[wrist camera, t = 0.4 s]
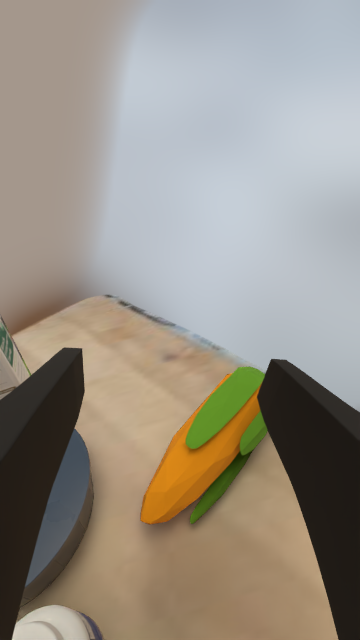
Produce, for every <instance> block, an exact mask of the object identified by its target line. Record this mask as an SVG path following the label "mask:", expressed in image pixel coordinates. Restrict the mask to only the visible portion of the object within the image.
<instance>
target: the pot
mask: <svg viewBox="0 0 360 640" xmlns="http://www.w3.org/2000/svg"><path fill="white" fill-rule="evenodd" d="M93 497H94V496H93V484H92V479H91V474H90V486H89V491H88V496H87V499H86V503H85V506H84V509H83V512H82V514H81V516H80V519H79V521H78V524H77V526H76V527H75V529H74V531H73V533H72V535H71V537H70V539H69V540H68V542H67V543H66V545H65V546H64V548H63V549H62V551H61V552H60V554H59V555H58V556H57V557H56V559H55V560H54V561H53V562H52V564H51V565H50V566H49V568H48V569H47V570H46V571H45V572H44V573H43V574H42V575H41V576H40V577H39V578H38V579H37V580H36V581H35V582H34V583H33V584H32V585H31V586H30V587H29V588H27V589H26V590H25V591H24V592H23V596H22V600H21V604H20V607H21V606H23V605H25V604H26V603H28V602H29V601H31V600H32V599H33V598H35V597H36V596H37V595H39V594H40V593H41V592H42V591H43V590H44V589H45V588H47V587H48V586H49V585H50V584H51V583H52V582H53V581H54V579H55V578H56V577H57V576H58V575H59V574H60V573H61V572H62V570H63V569H64V568H65V566H66V565H67V564H68V562H69V561H70V559H71V558H72V556H73V555H74V553H75V551H76V550H77V548H78V546H79V544H80V542H81V540H82V538H83V536H84V533H85V531H86V528H87V525H88V522H89V518H90V515H91V509H92V504H93Z"/></svg>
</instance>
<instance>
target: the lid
mask: <svg viewBox="0 0 360 640" xmlns="http://www.w3.org/2000/svg"><path fill="white" fill-rule="evenodd" d="M90 474H91V471H90V459H89V454H88V451H87V448H86V445H85V443H84V441H83V439H82V437H81V436H80V434H79V433H78V432H77V431H76V429H75V428H74V430H73V433H72V436H71V438H70V441H69V444H68V446H67V449H66V452H65V454H64V457H63V460H62V463H61V465H60V468H59V471H58V473H57V476H56V479H55V481H54V484H53V487H52V490H51V493H50V496H49V499H48V503H47V506H46V510H45V513H44V517H43V521H42V524H41V528H40V531H39V535H38V539H37V542H36V546H35V550H34V554H33V558H32V561H31V565H30V569H29V573H28V576H27V580H26V584H25V588H24V591H25V590H26V589H27V588H29V587H30V586H31V585H32V584H33V583H34V582H35V581H36V580H37V579H38V578H39V577H40V576H41V575H42V574H43V573H44V572H45V571H46V570H47V569H48V568H49V566H50V565H51V564H52V562H53V561H54V560H55V559H56V557H57V556H58V555H59V554H60V552H61V551H62V549H63V548H64V546H65V545H66V543H67V542H68V540H69V539H70V537H71V535H72V533H73V531H74V529H75V527H76V526H77V524H78V521H79V519H80V516H81V514H82V512H83V509H84V506H85V503H86V499H87V496H88V491H89V486H90Z"/></svg>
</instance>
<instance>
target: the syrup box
mask: <svg viewBox="0 0 360 640" xmlns="http://www.w3.org/2000/svg"><path fill="white" fill-rule="evenodd" d="M30 376H31V373H30V371H29V369H28V368H27V366H26V364H25V362H24V360H23V358H22V356H21V354H20V352H19V350H18V348H17V346H16V344H15V342H14V340H13V338H12V336H11V334H10V332H9V330H8V329H7V327H6V325H5V323H4V321H3V319H2V317H1V315H0V400H1V399H2V398H3V397H5V396H6V395H7V394H9V393H10V392H11V391H13V390H14V389H15V388H16V387H18V386H19V385H20V384H21V383H22V382H24V381H25V380H26V379H27V378H29V377H30Z"/></svg>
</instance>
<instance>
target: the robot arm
mask: <svg viewBox="0 0 360 640" xmlns="http://www.w3.org/2000/svg"><path fill="white" fill-rule="evenodd" d="M84 392H85V389H84V373H83V357H82V348H63V349H62V350H60V351H59V352H58V353H57V354H56V355H54V356H53V357H52V358H51V359H50V360H49V361H47V362H46V363H45V364H44V365H43V366H42V367H41V368H39V369H38V370H37V371H36V372H35V373H33V374H32V375H31V376H30V377H29V378H27V379H26V380H25V381H24V382H22V383H21V384H20V385H19V386H18V387H16V388H15V389H14V390H13V391H11V392H10V393H9V394H7V395H6V396H5V397H3V398H2V399H1V400H0V640H12V637H13V632H14V628H15V624H16V620H17V616H18V612H19V608H20V604H21V600H22V596H23V592H24V588H25V584H26V580H27V576H28V573H29V569H30V565H31V561H32V558H33V554H34V550H35V546H36V542H37V539H38V535H39V531H40V528H41V524H42V521H43V517H44V513H45V510H46V506H47V503H48V499H49V496H50V493H51V490H52V487H53V484H54V481H55V479H56V476H57V473H58V471H59V468H60V465H61V463H62V460H63V457H64V454H65V452H66V449H67V446H68V444H69V441H70V438H71V436H72V433H73V430H74V428H75V425H76V422H77V419H78V416H79V412H80V408H81V404H82V400H83V396H84ZM257 399H258V403H259V407H260V410H261V413H262V417H263V420H264V422H265V425H266V427H267V429H268V432H269V434H270V436H271V439H272V441H273V443H274V445H275V447H276V450H277V452H278V454H279V456H280V459H281V461H282V463H283V465H284V468H285V470H286V472H287V474H288V476H289V479H290V481H291V484H292V486H293V489H294V491H295V494H296V497H297V500H298V502H299V505H300V508H301V511H302V514H303V517H304V520H305V523H306V526H307V529H308V532H309V535H310V539H311V542H312V545H313V548H314V551H315V555H316V558H317V561H318V565H319V568H320V572H321V575H322V579H323V582H324V586H325V589H326V593H327V596H328V600H329V604H330V608H331V612H332V616H333V619H334V623H335V627H336V631H337V635H338V639H339V640H360V412H358V411H357V410H355V409H354V408H352V407H351V406H349V405H348V404H346V403H345V402H344V401H342V400H341V399H340V398H338V397H337V396H335V395H334V394H333V393H331V392H330V391H329V390H327V389H326V388H324V387H323V386H322V385H320V384H319V383H318V382H316V381H315V380H314V379H312V378H311V377H309V376H308V375H307V374H306V373H304V372H303V371H301V370H300V369H298V368H297V367H296V366H294V365H293V364H291V363H290V362H288V361H287V360H279V359H271V361H270V364H269V366H268V369H267V371H266V374H265V377H264V379H263V382H262V384H261V387H260V389H259V392H258V395H257Z"/></svg>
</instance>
